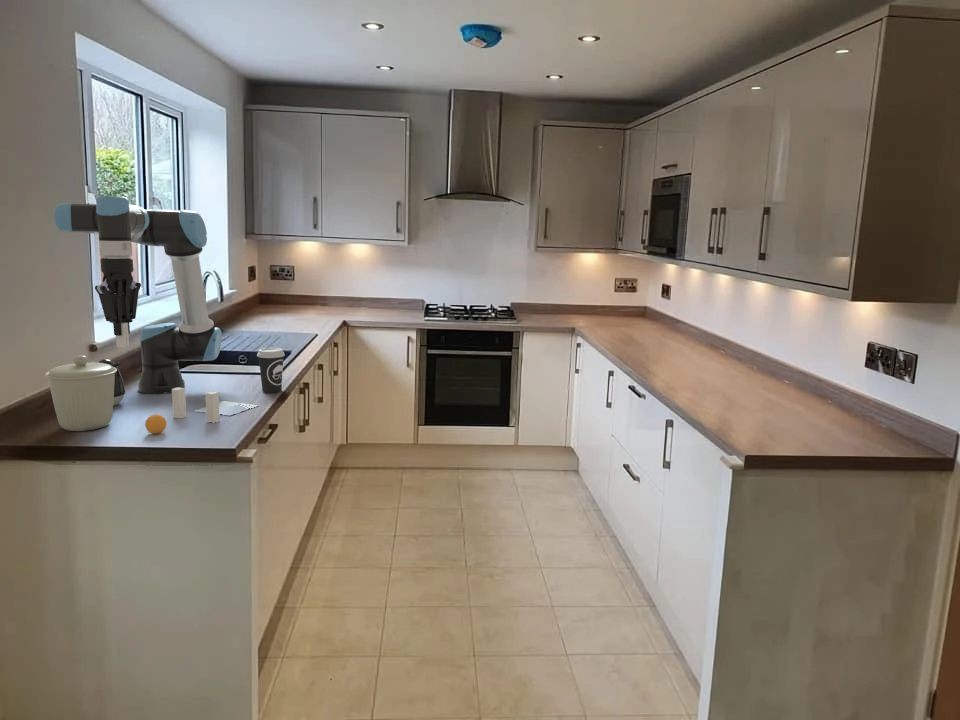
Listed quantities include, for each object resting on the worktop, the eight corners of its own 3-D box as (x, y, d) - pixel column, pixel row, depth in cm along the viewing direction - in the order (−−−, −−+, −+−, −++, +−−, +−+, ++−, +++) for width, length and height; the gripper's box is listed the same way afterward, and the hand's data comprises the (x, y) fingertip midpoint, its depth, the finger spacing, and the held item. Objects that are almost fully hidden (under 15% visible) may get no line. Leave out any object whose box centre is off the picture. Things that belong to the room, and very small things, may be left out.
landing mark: (223, 401, 240) (223, 400, 240) (258, 406, 235) (258, 405, 235) (194, 411, 227) (194, 410, 227) (230, 416, 222) (230, 415, 222)
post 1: (179, 415, 222) (177, 387, 220) (186, 416, 221) (184, 388, 219) (173, 417, 219) (171, 389, 218) (180, 418, 218) (178, 389, 217)
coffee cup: (285, 387, 262) (283, 346, 259) (286, 393, 253) (285, 351, 250) (257, 388, 259) (256, 347, 256) (258, 394, 250) (256, 352, 247)
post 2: (212, 420, 217) (211, 391, 216) (219, 421, 217) (218, 392, 215) (206, 422, 215) (205, 393, 213) (213, 423, 214) (212, 394, 212)
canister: (114, 433, 202) (108, 360, 198) (42, 437, 197) (34, 362, 193) (126, 416, 219) (121, 349, 215) (59, 420, 214) (53, 350, 210)
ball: (156, 429, 207) (155, 411, 206) (171, 432, 205) (170, 413, 204) (141, 434, 202) (140, 415, 200) (156, 437, 200) (155, 418, 199)
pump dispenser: (111, 410, 226) (108, 362, 223) (83, 407, 228) (79, 360, 225) (133, 402, 236) (130, 357, 233) (105, 400, 238) (102, 355, 235)
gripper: (106, 258, 178) (113, 352, 182) (147, 256, 190) (153, 344, 194) (83, 257, 180) (91, 349, 184) (125, 255, 192) (131, 342, 197)
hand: (123, 347), depth 189 cm, fingers closed
